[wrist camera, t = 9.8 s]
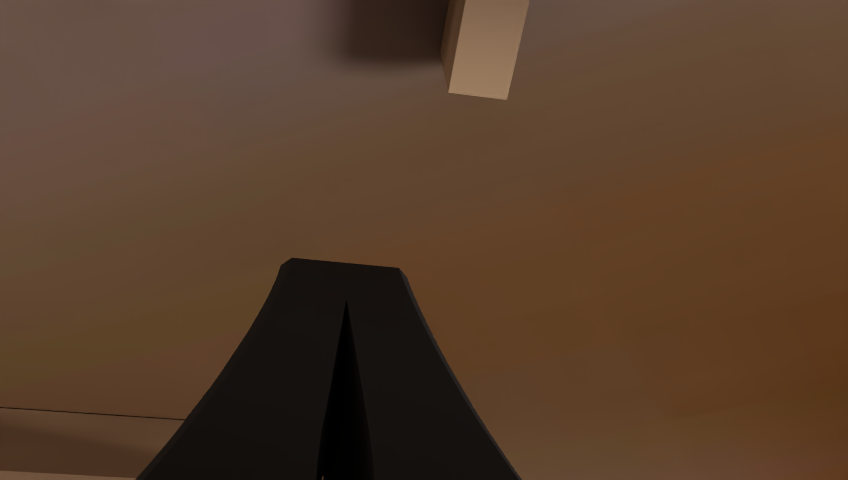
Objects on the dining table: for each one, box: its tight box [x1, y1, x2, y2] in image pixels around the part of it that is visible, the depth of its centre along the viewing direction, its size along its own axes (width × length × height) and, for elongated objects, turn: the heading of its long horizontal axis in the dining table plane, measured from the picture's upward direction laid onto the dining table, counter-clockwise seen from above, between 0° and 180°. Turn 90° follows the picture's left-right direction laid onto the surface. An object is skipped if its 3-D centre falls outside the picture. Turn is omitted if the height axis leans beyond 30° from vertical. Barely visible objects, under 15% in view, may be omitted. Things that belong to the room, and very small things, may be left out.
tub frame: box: [0, 0, 530, 480], centre depth 18 cm, size 18×18×2 cm
